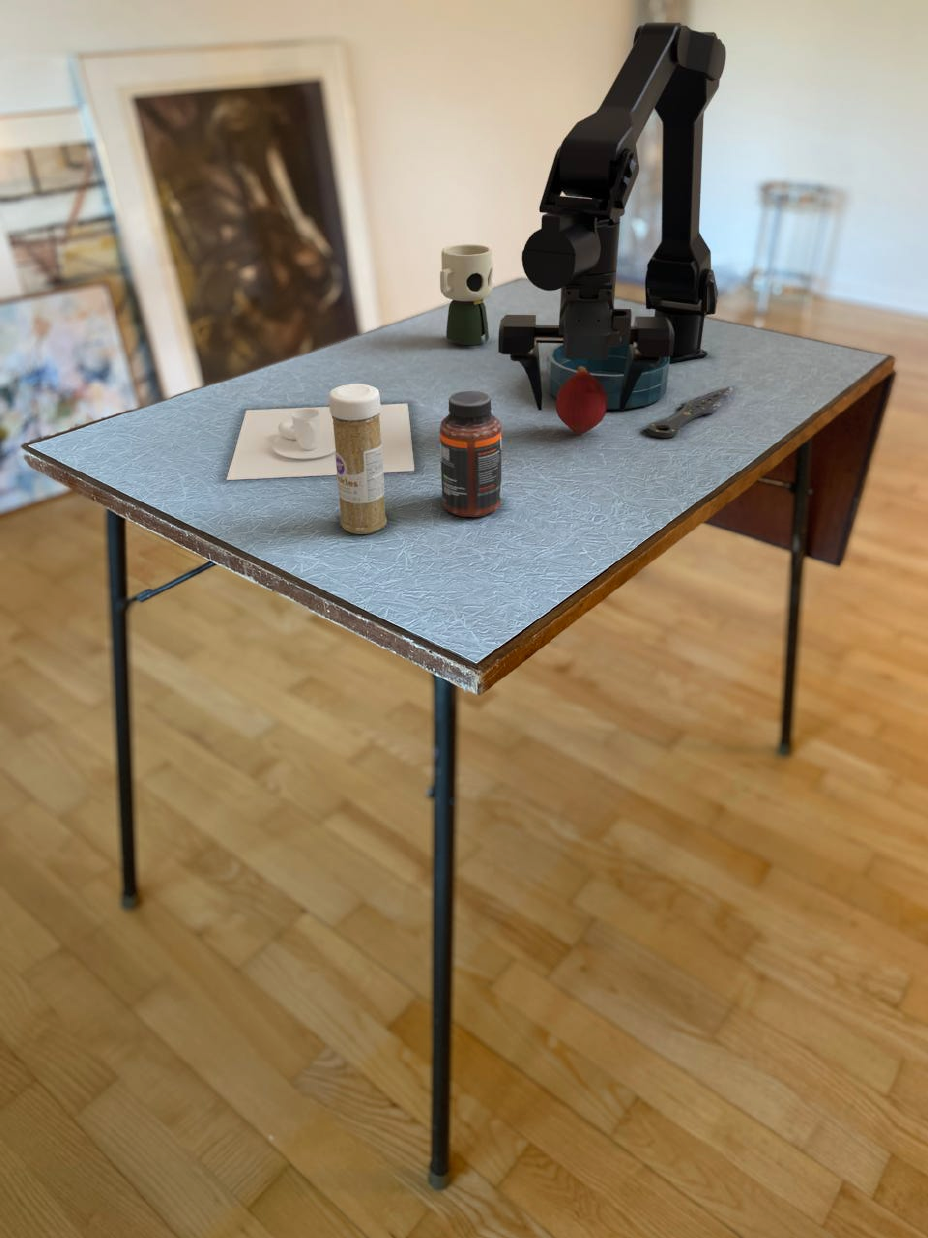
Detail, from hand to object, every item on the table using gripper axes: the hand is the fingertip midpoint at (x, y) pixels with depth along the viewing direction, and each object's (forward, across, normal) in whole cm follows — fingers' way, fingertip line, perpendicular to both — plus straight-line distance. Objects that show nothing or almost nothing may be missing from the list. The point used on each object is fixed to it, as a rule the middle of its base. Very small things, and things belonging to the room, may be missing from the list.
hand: (580, 410), depth 107 cm
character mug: (+3, -16, +34) cm, 37 cm away
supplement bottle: (+3, -11, -19) cm, 22 cm away
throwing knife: (+3, +14, +8) cm, 17 cm away
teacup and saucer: (+3, -29, -3) cm, 30 cm away
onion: (+3, 0, 0) cm, 3 cm away
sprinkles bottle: (+3, -21, -24) cm, 32 cm away
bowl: (+3, +4, +15) cm, 16 cm away
